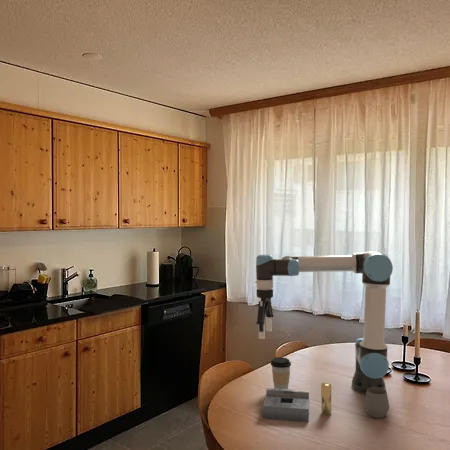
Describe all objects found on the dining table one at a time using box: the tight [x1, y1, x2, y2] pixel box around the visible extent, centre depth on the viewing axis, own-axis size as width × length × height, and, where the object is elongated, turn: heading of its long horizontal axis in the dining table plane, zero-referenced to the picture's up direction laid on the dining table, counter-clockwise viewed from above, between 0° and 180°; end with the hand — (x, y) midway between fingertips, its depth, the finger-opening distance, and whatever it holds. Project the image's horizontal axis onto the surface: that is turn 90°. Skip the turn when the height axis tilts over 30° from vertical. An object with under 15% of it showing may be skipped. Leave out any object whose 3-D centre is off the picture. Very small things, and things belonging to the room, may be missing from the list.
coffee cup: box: [270, 357, 292, 389], centre depth 206 cm, size 9×9×15 cm
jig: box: [262, 387, 310, 423], centre depth 184 cm, size 18×14×7 cm
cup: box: [364, 387, 390, 419], centre depth 181 cm, size 10×9×10 cm
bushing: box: [320, 382, 332, 417], centre depth 183 cm, size 4×4×12 cm
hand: (265, 334), depth 205 cm, fingers open, 13 cm apart
